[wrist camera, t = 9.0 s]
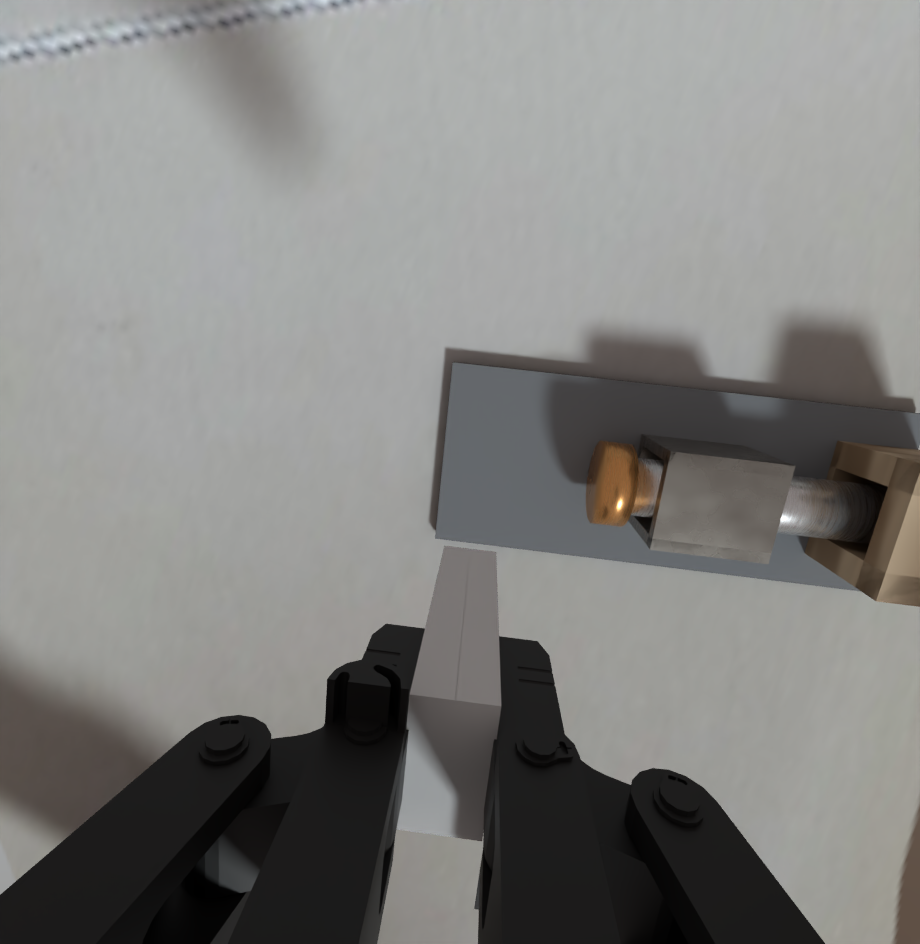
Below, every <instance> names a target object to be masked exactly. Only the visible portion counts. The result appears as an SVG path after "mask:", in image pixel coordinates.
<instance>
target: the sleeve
mask: <svg viewBox="0 0 920 944" xmlns="http://www.w3.org/2000/svg"><path fill="white" fill-rule="evenodd" d="M637 457H638V458H644V459H653V460H661V461H664V466H663V470H662V475H661V480H660V485H659V489H658V494H657V499H656V504H655V508H654V513H653V518H649V517H641V516H633V515H631V516H630V518H629V520H628V521H629V523H630V524H631V525H632V527H633V528H634V529H635V531H636V532H637V533H638V534H639V536H640V537H641V538H642V540H643V541H644V542H645V544H646V545H647V546H648V548H649V549H650V550H657V551H665V552H673V553H681V554H689V555H697V556H705V557H714V558H722V559H730V560H738V561H746V562H754V563H762V564H769V560H770V557H771V553H772V549H773V546H774V542H775V539H776V535H777V531H778V528H779V524H780V520H781V517H782V513H783V510H784V506H785V502H786V499H787V495H788V492H789V488H790V484H791V481H792V477H793V473H794V470H795V465H792V464H790V463H787V462H785V461H782V460H780V459H777V458H775V457H772V456H770V455H767V454H765V453H762V452H760V451H757V450H755V449H752V448H750V447H747V446H742V445H734V444H725V443H716V442H707V441H699V440H690V439H681V438H672V437H664V436H655V435H646V434H642V436H641V441H640V446H639V451H638V456H637Z"/></svg>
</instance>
